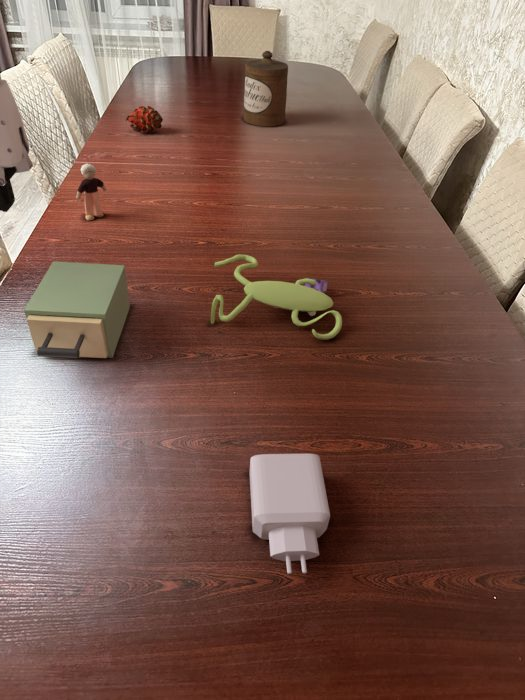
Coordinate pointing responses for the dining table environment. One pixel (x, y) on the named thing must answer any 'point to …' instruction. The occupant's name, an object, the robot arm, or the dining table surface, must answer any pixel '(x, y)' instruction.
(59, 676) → the dining table surface
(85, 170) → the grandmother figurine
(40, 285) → the cabinet
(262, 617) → the dining table surface
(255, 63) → the wooden container
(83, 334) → the drawer
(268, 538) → the charger
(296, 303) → the figurine
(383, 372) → the dining table surface
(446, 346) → the dining table surface
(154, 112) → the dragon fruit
